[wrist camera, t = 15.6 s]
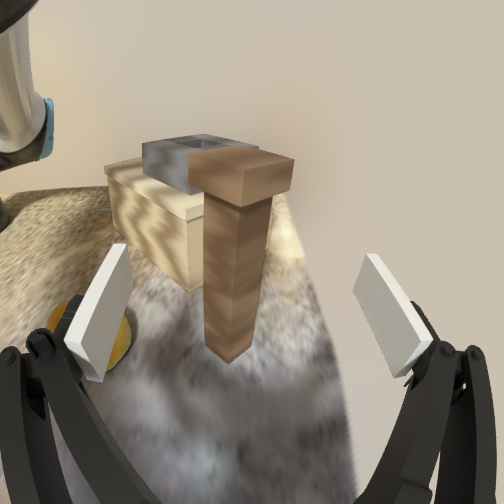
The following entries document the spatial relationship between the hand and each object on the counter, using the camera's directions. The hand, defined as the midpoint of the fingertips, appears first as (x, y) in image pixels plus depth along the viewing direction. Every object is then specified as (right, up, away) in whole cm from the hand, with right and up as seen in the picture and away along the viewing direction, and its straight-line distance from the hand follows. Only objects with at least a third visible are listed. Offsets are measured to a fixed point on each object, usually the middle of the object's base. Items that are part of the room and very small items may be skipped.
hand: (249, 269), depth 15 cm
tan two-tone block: (-10, +3, +25) cm, 27 cm away
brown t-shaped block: (-2, -8, +10) cm, 13 cm away
